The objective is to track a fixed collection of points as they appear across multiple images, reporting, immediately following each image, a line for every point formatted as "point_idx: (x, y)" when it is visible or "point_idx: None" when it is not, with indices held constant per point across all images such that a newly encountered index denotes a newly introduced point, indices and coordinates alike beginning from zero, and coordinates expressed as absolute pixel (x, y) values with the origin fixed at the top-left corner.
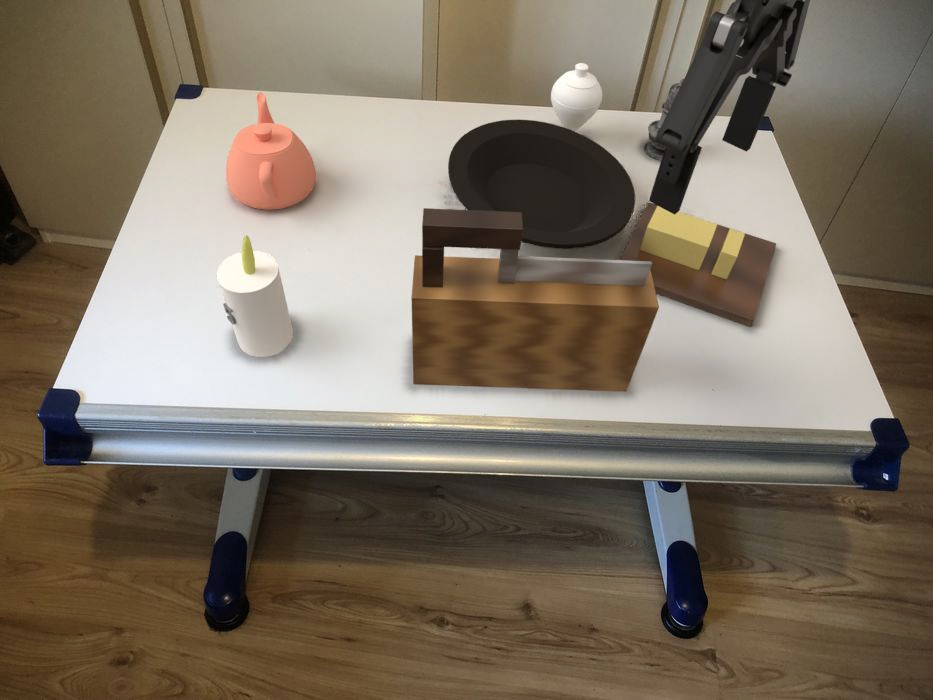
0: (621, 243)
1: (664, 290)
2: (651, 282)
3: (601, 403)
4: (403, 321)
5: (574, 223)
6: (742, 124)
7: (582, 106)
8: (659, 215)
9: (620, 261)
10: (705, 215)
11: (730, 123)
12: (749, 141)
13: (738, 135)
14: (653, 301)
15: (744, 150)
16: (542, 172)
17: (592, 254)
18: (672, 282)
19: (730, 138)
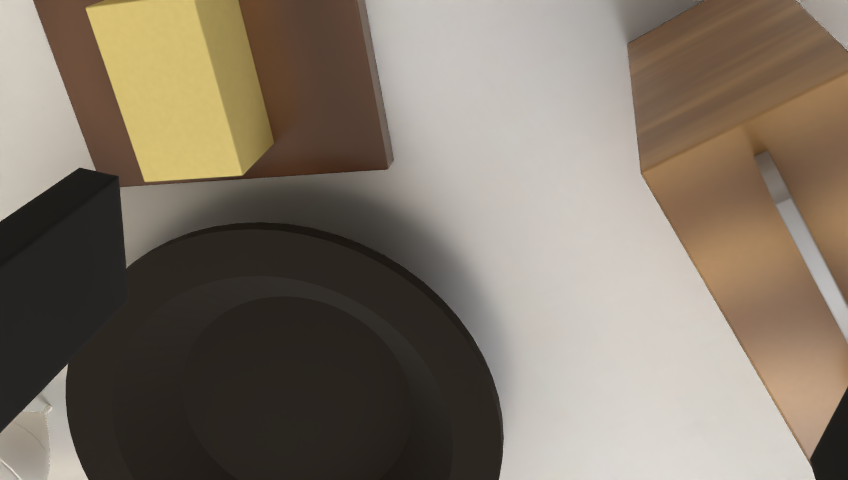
0: (267, 185)
1: (364, 29)
2: (733, 134)
3: (834, 10)
4: (789, 472)
5: (314, 311)
6: (45, 313)
7: (2, 469)
8: (177, 163)
9: (833, 297)
10: (16, 40)
11: (67, 352)
12: (83, 209)
13: (87, 273)
14: (838, 93)
15: (117, 188)
16: (212, 424)
17: (350, 228)
18: (325, 22)
19: (111, 284)
